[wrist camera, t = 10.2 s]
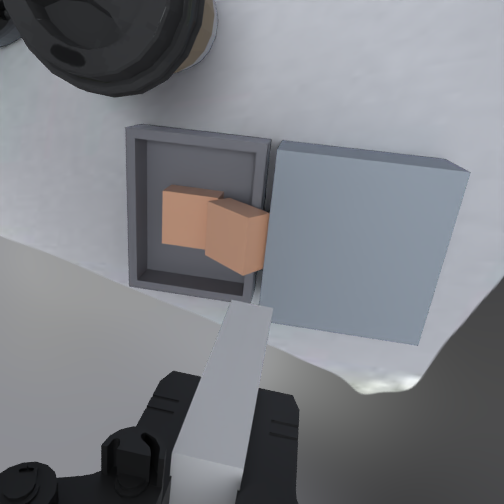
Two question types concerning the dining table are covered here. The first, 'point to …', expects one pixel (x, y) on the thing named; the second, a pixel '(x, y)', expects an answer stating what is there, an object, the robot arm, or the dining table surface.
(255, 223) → the tile front
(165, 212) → the tile rear
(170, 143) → the box
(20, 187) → the dining table surface
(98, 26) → the coffee cup
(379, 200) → the blue-grey square block
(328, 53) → the dining table surface
